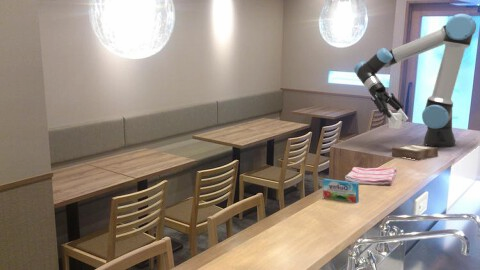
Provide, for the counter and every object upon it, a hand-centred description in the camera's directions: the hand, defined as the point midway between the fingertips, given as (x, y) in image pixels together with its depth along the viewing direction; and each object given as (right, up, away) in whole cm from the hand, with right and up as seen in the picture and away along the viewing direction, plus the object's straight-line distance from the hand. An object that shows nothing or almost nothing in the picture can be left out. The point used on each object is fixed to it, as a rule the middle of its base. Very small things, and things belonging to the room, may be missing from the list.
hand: (400, 121), depth 222 cm
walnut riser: (+3, -16, -10) cm, 19 cm away
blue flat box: (-44, -28, -71) cm, 88 cm away
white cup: (-2, -3, +4) cm, 5 cm away
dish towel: (-27, -24, -44) cm, 57 cm away
